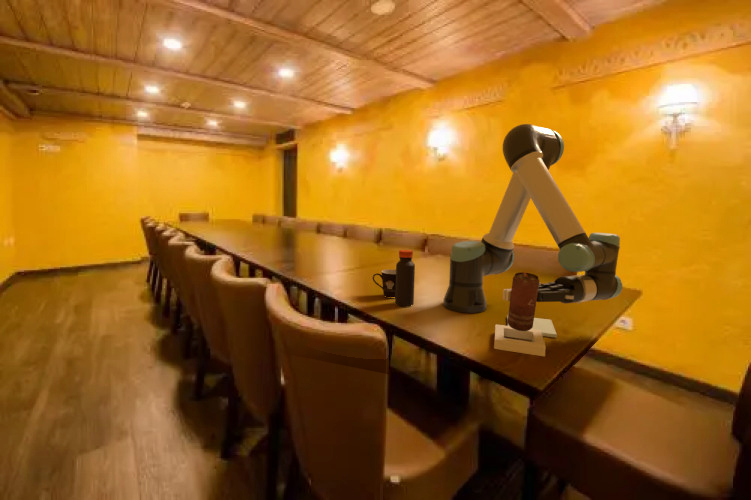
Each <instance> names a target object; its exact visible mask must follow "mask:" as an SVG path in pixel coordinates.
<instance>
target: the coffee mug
mask: <svg viewBox="0 0 751 500" xmlns="http://www.w3.org/2000/svg"><path fill="white" fill-rule="evenodd" d="M376 276H379V277H380V278H381V283H382V285H381V284H379V283H378V282H376V280H375V277H376ZM372 281H373V282H374V284H375V285H377V286H378V287H380V288H381V289H382V291H383V297H384V296H386V297H395V293H396V269H383V270H381V273H374V274H373V276H372ZM386 297H385V298H386Z"/></svg>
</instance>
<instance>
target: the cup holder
mask: <svg viewBox="0 0 751 500" xmlns="http://www.w3.org/2000/svg"><path fill="white" fill-rule="evenodd" d="M494 329H495V330H494V343H493V349H495V350H501V351H507V352H513V353H514V352H515V353H520V354H524V355H525V354H526V355H532V356H539V357H544V358H545V357H546V347H547V346H546V343H545V340H544V336H542V333H541V330H535V329H530V330H529V331H519V330H515V329H513V328H511V327H510V326H507V325H503V324H495V327H494ZM513 338H514V339H513Z"/></svg>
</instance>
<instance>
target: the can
mask: <svg viewBox="0 0 751 500" xmlns="http://www.w3.org/2000/svg"><path fill="white" fill-rule="evenodd" d="M539 283H540V279H539V276H538V275H537V274H534V273H530V272H525V271H522V272H520V271H519V272H516V273H515V274H514V275H513V277H512V283H511V289H512V290H511V299H510V301H509V306H508V314H507V315H508V321H507V322H508V324H509V326H510V327H511V328H513V329H515V330H519V331H529V330H530V329H531V328H532V327H533V321H534V318H535V314H536V313H535V312H536V307H537V295H538V288H539Z"/></svg>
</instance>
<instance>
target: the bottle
mask: <svg viewBox="0 0 751 500" xmlns="http://www.w3.org/2000/svg"><path fill="white" fill-rule="evenodd" d="M413 253H414V251H413V250H412V249H411V250H410V249H399V250H398V257H399V260H398V261H397V263H396V264H395V270H396V293H395V298H394V301H395V302H394V303H396V304H397V305H396V304H395V305H396V306H398V305H399V306H398V307H402V306H409V307H412V306H414V303H415V278H416V277H415V273H416V271H415V270H416V269H415V267H416V265H415V263H414V262H413V260H412V259H413V255H414V254H413ZM411 305H412V306H411Z"/></svg>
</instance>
